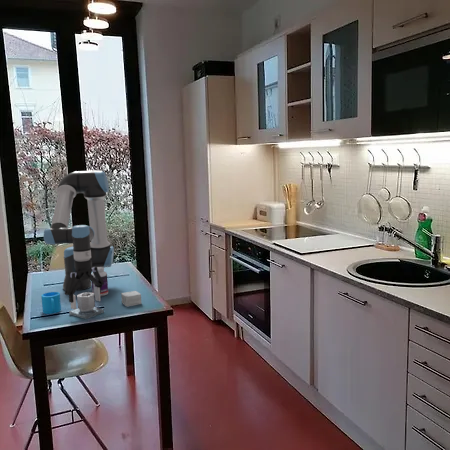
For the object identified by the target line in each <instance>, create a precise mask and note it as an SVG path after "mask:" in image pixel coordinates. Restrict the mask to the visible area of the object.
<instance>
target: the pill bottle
mask: <svg viewBox="0 0 450 450" xmlns="http://www.w3.org/2000/svg"><path fill="white" fill-rule="evenodd" d="M97 269H98V273H99V274H100V276H101V278H102V280H103V282H104V285H102V287H101V293H100V297H104V296H106V295H108V294H109V284H108V274H107V271H105V268H104V267H97ZM91 274H92V275H93V276H94V274H93V272H92V273H91ZM94 278H95V279H96V277H95V276H94ZM96 280H97V279H96ZM91 285H92V286H91V291H92V292H91V293H94V297H95V287H97V286H96V285H95V284H94V283H93V282H92V281H91Z"/></svg>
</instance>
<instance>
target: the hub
mask: <svg viewBox="0 0 450 450" xmlns="http://www.w3.org/2000/svg"><path fill="white" fill-rule="evenodd" d="M83 294H88V295H89V296H83ZM76 299H77V301H76V304H77V309H80V310H89V309H92V308H94V307H96V300H95V296H94V293H92V292H89V291H88V292H82V293H79V294H77V295H76Z"/></svg>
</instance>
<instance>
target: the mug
mask: <svg viewBox="0 0 450 450" xmlns="http://www.w3.org/2000/svg"><path fill="white" fill-rule="evenodd" d="M40 296H41V305H42V306H41V308H42V313H43V314H46V315H51V314H53V315H54V314H57V313H60V312H61V311H62V304H61V303H62V302H61V292H58V291H48V292H45V293H43V294H41V295H40Z"/></svg>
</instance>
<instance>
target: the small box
mask: <svg viewBox="0 0 450 450" xmlns="http://www.w3.org/2000/svg"><path fill="white" fill-rule="evenodd" d="M120 297H121V303H122V304H123V305H124V306H125V307H132V306H138V305H142V303H143V302H142V294H141V292H139V291H137V290H132V291H127V292H121V293H120Z"/></svg>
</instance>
